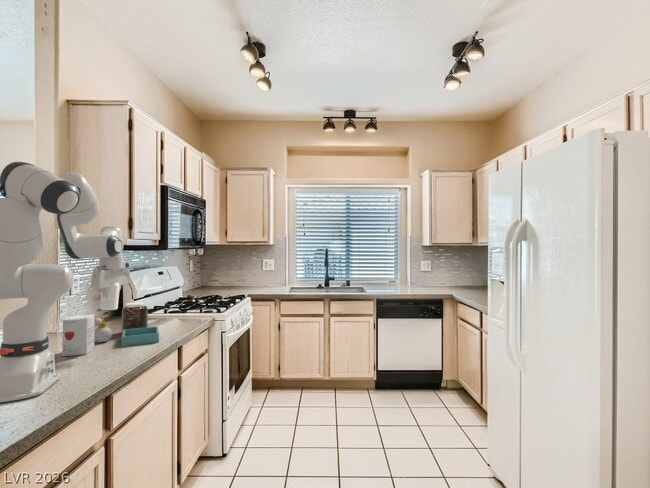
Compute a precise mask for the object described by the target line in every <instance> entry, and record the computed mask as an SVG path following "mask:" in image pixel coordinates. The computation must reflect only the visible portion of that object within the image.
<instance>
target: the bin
mask: <svg viewBox="0 0 650 488" xmlns="http://www.w3.org/2000/svg"><path fill="white" fill-rule="evenodd" d="M159 331H160V330H159V326H157V325H156V326H149V327H146V328H135V329H125V330H123V334H122V333H121V334H122V335H121V347H129V346H138V345H146V344H155V343H156V344H157V343H159V342H160V332H159Z"/></svg>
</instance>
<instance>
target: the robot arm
mask: <svg viewBox="0 0 650 488" xmlns="http://www.w3.org/2000/svg"><path fill="white" fill-rule="evenodd" d="M0 194H1V195H2V197H3V198H0V300H11V299H27V303H26V304H25V305H24V306H22V307H19V308H17V309H15V310H13V311H11V312H8V314H6V316H5V317H4V318H3V320H2V342H1V343H0V403H6V402H13V401H18V400H23V399H28V398H32V397H35V396H39V395H41V394H42V393H43V392H45V391H46V390H47V389H49V388H50V387H51V386H53V384H55V383H56V382H57V381H58V380H60V379H61V378H62V374H61V373H56V366H55V363H56V362H55V354H54V353H53V352H52V351H50V349H49V344H50V340H49V336H48V320H49V315H50V311H51V309H52V307H53V305H54V304H55V303H56V302H57V301H58V299H59V298H61V297H62V296H64V295H66V293H68V292H69V291H70V290H71V288H72V287H73V285H74V282H75V276H74V273H73V271H72V270H71V268H69V267H68V266H67V265H62V264H54V263H33V262H34V261H36V260H37V259H39V257H40V256H41V255H42V253H43V252H44V244H43V236H42V229H41V223H40V220H39V217H40V213H41V211H42V210H44V211H46V212H47V213H51V214H55V215H56V221H57V225H58V228H59V231H60V235H61V237H62V239H63V245H64V251H65V254H66V255H67V256H69V258H71V259H73V260H81V259H99V260H98V265H97V266H96V267H95V268H94V269H93V272H92V274H91V280H90V287H91V288H92V290H100V293H101V292H102V294H103V297H104V296H106V298H107V295H108V292H107V290H108V287H110V286H111V283H112V282H118V281H119V282H118V283H119V293H120V291H121V289H122V286H125V285H129V283H130V278H131V270H130V268H131V263H130V262H128V261H126V260H124V255H123V250H124V237H123V236H124V235H123V231H122V229H121V228H119V227H114V226H103V227H102V228H101V229H100V233H99V234H89V233H88V234H85V233H80V232H78V230H77V226H81V225H86V224H88V223H91V222H92V221H94V220H95V219H96V218H97V217H98V216H99V214H100V212H101V204H100V200H99V199H98V196H97V194H96V192H95V191H94V189H93V187H92V186H91V185H90V183H89V182H88V181H87V179H86V178H85V177H84V176H83V175H81V174H80V173H78V172H76V171H75V172H74V171H65V172H62V173H59V174H57V175H56V174H54V173H53V172H50V171H49V170H47V169H44V168H41V167H39V166H37V165H35V164H33V163H28V162H23V161H14V162H11V163H8V164H7V165H6V166H4V168H3V169H2V171H1V173H0Z"/></svg>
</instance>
